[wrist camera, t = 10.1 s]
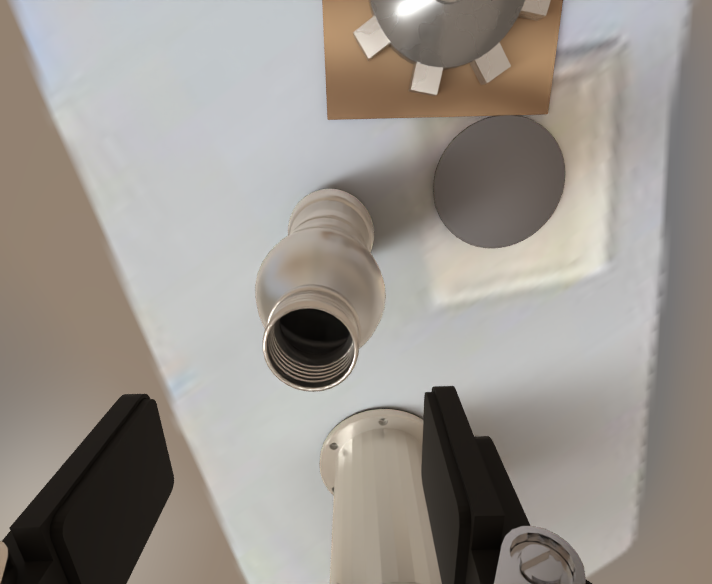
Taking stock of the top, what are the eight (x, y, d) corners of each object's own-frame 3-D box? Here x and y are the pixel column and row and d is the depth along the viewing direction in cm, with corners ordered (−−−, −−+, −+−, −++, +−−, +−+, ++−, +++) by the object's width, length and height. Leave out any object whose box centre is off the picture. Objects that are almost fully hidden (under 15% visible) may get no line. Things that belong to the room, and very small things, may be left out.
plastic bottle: (363, 175, 33) (378, 244, 14) (379, 257, 35) (411, 407, 17) (282, 193, 33) (195, 283, 15) (304, 273, 36) (253, 436, 17)
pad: (551, 245, 35) (554, 246, 34) (430, 248, 35) (431, 249, 34) (571, 113, 31) (575, 113, 31) (436, 116, 31) (437, 116, 31)
